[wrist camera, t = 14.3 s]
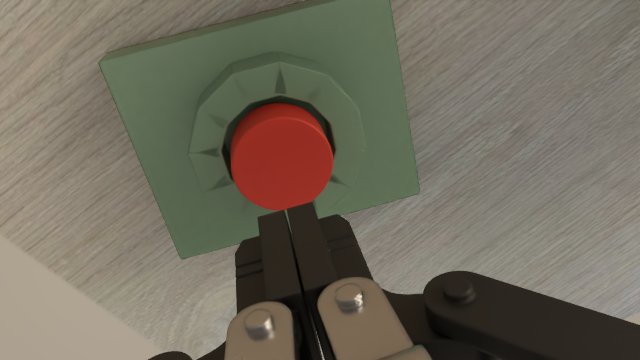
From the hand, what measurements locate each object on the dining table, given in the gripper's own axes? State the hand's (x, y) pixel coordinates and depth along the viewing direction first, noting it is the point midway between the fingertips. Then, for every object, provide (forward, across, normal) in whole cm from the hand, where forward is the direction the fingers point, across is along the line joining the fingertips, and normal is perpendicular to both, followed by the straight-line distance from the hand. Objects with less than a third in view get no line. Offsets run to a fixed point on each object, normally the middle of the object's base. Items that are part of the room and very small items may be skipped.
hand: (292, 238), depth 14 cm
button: (+7, 0, 0) cm, 7 cm away
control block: (+10, 0, 0) cm, 10 cm away
